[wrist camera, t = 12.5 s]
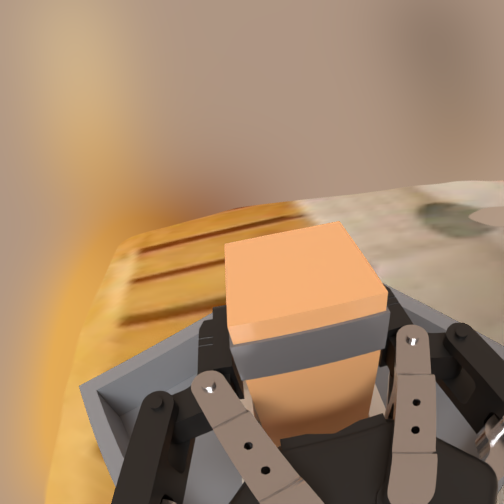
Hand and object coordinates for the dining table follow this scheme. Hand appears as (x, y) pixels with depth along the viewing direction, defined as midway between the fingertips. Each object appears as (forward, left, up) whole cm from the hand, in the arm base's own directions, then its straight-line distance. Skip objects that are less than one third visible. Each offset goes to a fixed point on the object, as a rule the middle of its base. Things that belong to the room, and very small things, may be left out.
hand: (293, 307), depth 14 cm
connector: (+1, +2, -9) cm, 9 cm away
